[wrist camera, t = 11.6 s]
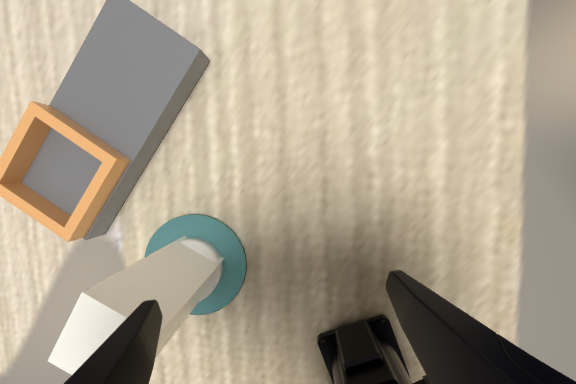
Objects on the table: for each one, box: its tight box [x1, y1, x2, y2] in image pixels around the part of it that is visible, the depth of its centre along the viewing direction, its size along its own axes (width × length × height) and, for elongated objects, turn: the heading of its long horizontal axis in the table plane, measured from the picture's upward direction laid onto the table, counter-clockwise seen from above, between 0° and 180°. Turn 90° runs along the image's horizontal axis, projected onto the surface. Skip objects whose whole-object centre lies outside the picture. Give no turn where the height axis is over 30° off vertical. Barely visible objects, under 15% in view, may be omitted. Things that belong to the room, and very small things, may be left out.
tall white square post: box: [48, 236, 225, 375], centre depth 16 cm, size 5×5×10 cm
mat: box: [145, 214, 246, 315], centre depth 22 cm, size 9×9×1 cm
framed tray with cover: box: [0, 0, 210, 242], centre depth 20 cm, size 18×8×4 cm, turn 146°
